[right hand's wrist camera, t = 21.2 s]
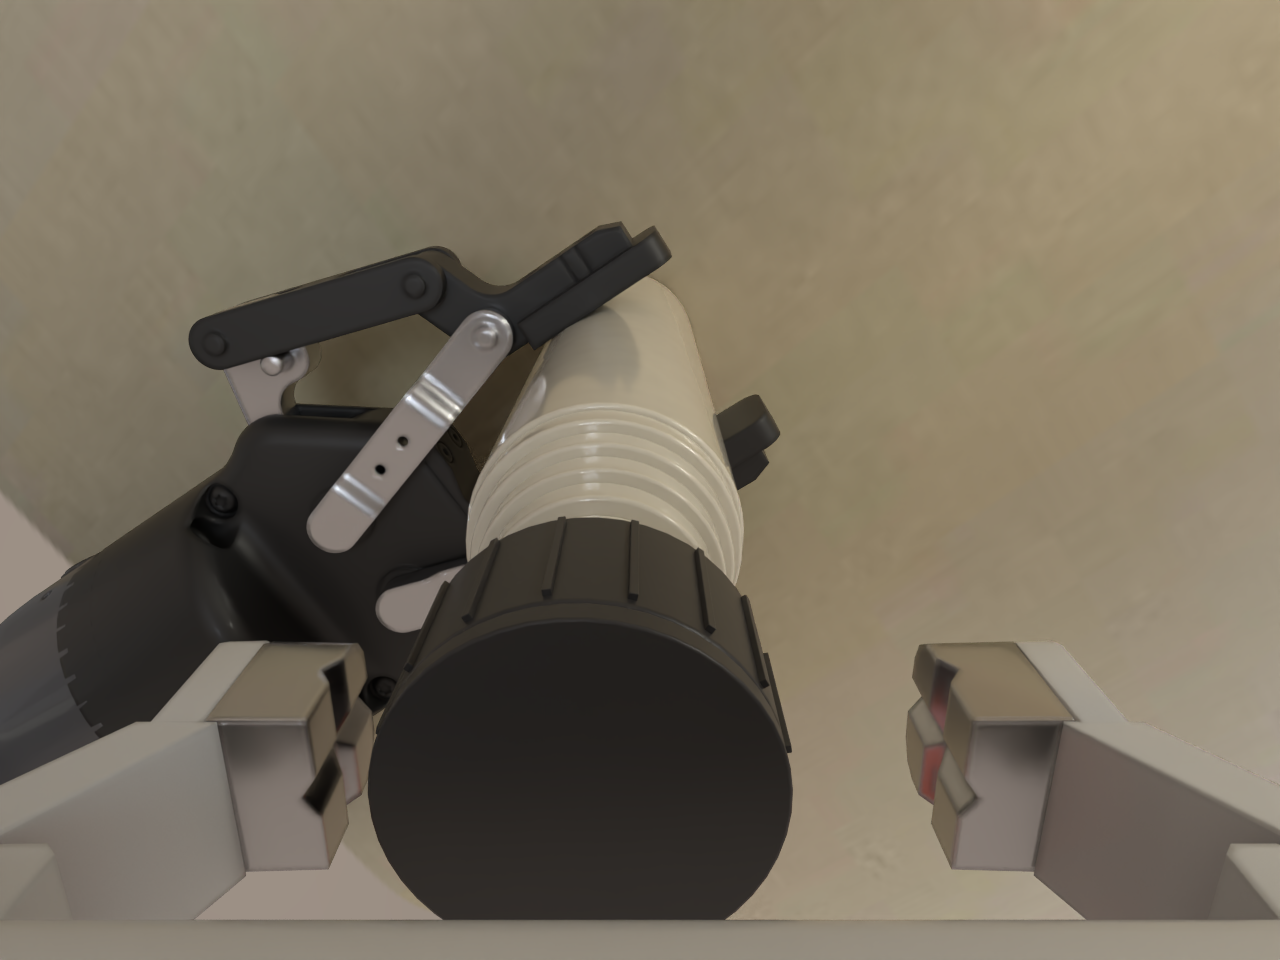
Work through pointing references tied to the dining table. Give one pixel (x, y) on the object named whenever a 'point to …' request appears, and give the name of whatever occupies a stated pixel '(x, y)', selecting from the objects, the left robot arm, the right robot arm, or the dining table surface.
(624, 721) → the cap
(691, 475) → the bottle
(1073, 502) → the dining table surface
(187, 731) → the right robot arm
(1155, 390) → the dining table surface
